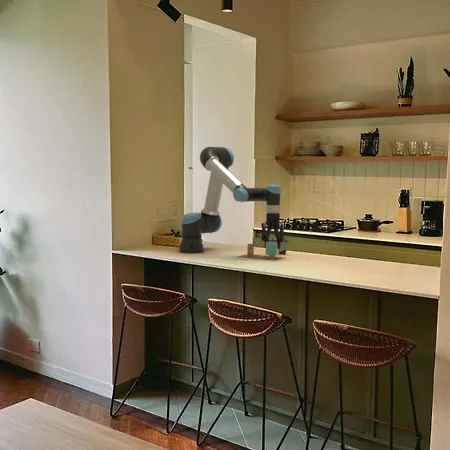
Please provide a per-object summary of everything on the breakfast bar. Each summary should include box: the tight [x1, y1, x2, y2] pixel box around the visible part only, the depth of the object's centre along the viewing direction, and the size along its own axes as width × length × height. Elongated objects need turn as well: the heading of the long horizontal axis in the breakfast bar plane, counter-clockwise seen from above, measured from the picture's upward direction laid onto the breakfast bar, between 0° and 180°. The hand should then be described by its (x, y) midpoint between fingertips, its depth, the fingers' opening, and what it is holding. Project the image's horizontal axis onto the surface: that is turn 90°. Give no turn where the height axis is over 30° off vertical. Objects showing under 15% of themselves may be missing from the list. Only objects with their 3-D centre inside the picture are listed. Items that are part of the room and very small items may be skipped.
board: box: [236, 254, 286, 262], centre depth 317 cm, size 25×14×1 cm, turn 57°
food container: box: [268, 237, 289, 256], centre depth 331 cm, size 12×6×10 cm, turn 84°
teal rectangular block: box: [265, 242, 279, 257], centre depth 313 cm, size 5×5×7 cm
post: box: [246, 243, 255, 257], centre depth 320 cm, size 3×3×7 cm
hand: (272, 254), depth 313 cm, fingers open, 5 cm apart
